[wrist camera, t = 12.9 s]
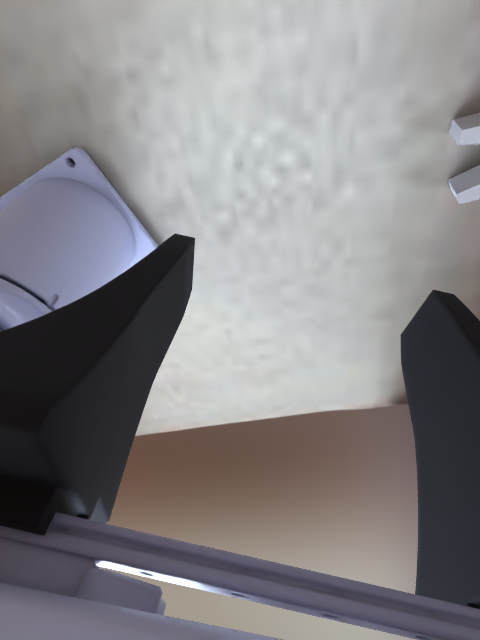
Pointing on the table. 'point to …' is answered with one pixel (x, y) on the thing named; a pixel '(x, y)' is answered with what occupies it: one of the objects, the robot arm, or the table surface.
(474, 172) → the pliers
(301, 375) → the table surface
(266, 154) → the table surface
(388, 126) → the table surface
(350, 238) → the table surface
